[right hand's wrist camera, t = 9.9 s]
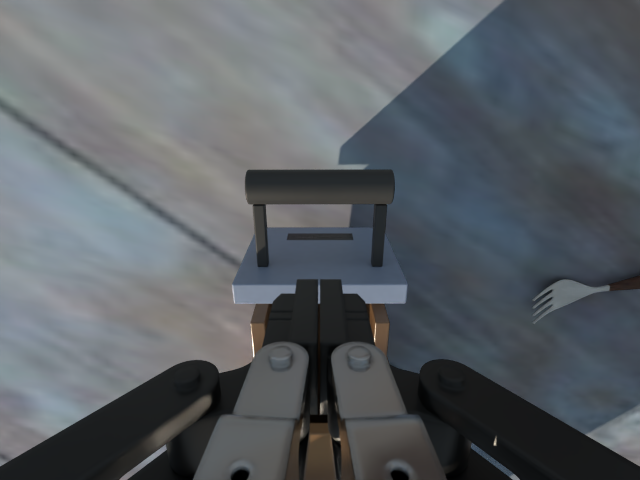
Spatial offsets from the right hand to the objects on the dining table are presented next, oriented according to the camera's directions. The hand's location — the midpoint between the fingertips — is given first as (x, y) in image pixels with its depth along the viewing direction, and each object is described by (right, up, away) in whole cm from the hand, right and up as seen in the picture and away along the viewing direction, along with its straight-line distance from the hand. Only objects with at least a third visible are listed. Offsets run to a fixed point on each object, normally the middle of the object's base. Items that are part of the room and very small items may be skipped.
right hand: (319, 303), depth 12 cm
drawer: (0, -3, +16) cm, 16 cm away
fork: (+25, -1, +18) cm, 30 cm away
